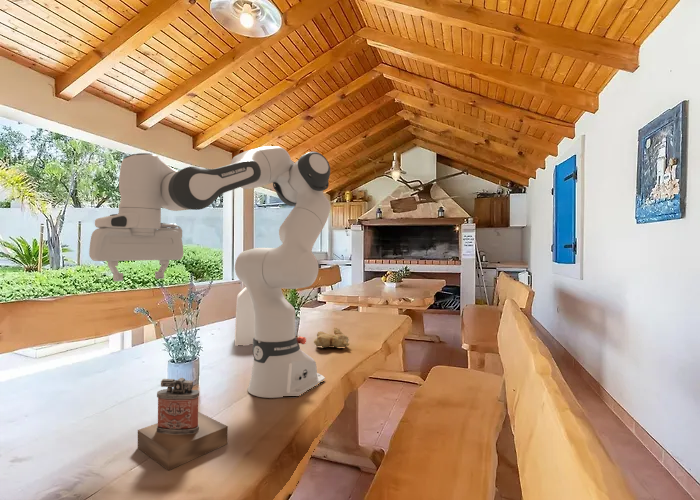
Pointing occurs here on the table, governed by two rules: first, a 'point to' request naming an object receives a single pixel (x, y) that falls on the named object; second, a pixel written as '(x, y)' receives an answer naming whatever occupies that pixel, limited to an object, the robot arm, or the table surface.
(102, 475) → the table surface
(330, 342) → the ginger root
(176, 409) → the lighter
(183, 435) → the walnut base
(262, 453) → the table surface
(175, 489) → the table surface
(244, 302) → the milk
